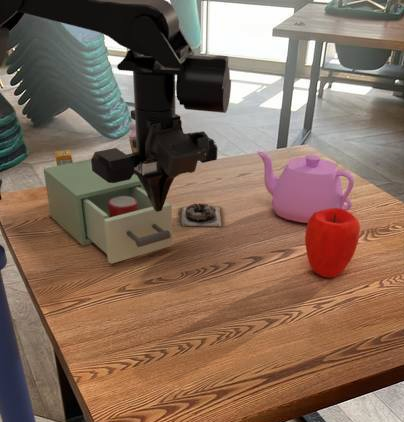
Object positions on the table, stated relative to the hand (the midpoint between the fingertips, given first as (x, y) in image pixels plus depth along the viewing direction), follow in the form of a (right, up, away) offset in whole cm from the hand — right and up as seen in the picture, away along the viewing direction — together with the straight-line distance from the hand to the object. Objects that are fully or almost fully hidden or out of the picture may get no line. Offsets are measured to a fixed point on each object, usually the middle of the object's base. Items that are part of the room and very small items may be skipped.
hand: (157, 210), depth 90 cm
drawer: (-6, -3, +13) cm, 15 cm away
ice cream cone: (-5, +14, +36) cm, 39 cm away
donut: (+7, +5, +25) cm, 26 cm away
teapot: (+27, +6, +27) cm, 39 cm away
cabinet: (-13, +3, +22) cm, 26 cm away
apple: (+28, -8, +9) cm, 31 cm away
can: (-7, -1, +14) cm, 15 cm away
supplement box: (-21, +10, +29) cm, 37 cm away
